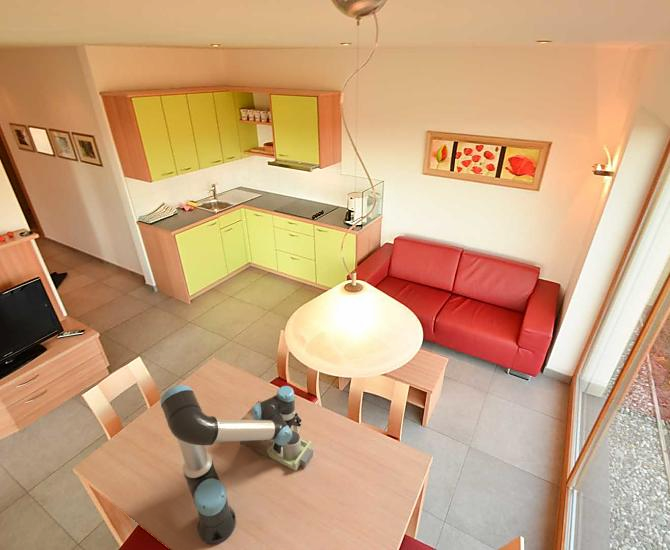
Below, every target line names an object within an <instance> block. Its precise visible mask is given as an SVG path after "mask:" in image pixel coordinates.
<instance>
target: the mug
mask: <svg viewBox="0 0 670 550" xmlns="http://www.w3.org/2000/svg"><path fill="white" fill-rule="evenodd" d="M291 432H292V438H291V439H290V441H289V442H288V443H287V444H285V445H282V447H283V449H284V456H285V457H286V458H287V459H289V460H295V459H297V458H298V456H299V455H300V454H301V439H302V438H301V435H300V432H299V433H298V432H296V431H293V430H291Z"/></svg>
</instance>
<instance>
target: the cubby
mask: <svg viewBox="0 0 670 550" xmlns="http://www.w3.org/2000/svg"><path fill="white" fill-rule="evenodd" d="M260 402H261V400H258V401H257V402H256V403H255V404H254V405H256V404H258V403H260ZM240 420H254V418H253V415H252V407H251V408H250V409H249V410H248V412H247V413H246V414H245V415H243V417H242V418H241V419H240ZM274 441H275V440H251V441H239V444H240V445H242V446H243V447H245V448H246V449H248V450H250V451H251V452H254V453H256V454H257V455H259V456H260V457H263V458H264V459H269V458H270V457H269V456H268V452H267V450H268V449H269V447H270V446H271V445H272V444H273V442H274Z"/></svg>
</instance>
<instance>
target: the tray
mask: <svg viewBox="0 0 670 550" xmlns="http://www.w3.org/2000/svg"><path fill="white" fill-rule="evenodd" d="M300 439H301V454H300V455H299V456H298V458H297V459H295V460H289V459H287V458H286V457H285V456H284V449H283V457H280V456H278V455H277V451H275V450H273V448H274V443H275V441H274V442H273V444H272V445H271V446H270V447H269V449H268V450H267V452H268V456H269V457H268V458H271V459H273V460H275V461H276V462H278V463H280V464H282V465H284V466H286V467H287V468H289V469H291V470H293V471H295V472H297V471H298V468H299V467H300V466H302V467H304V468H306V467H307V466H308V464H309V462H310V461H311V460H312V458H313V456H314V450H313V449H312V447H313V446H312V441H311V440H308V441H306V440H304V439H302V438H300ZM282 448H283V447H282Z"/></svg>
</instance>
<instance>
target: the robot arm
mask: <svg viewBox="0 0 670 550" xmlns="http://www.w3.org/2000/svg"><path fill="white" fill-rule="evenodd" d="M276 392H277V393H276V394H275V395H273V396H272V397H270V398H267V399H265V400H263V401H260V403H258V404H256V403H255V404H256V405H255V404H254V405H253V406H252V407H251V408H252V415H253V418H254V420H241V419H222V418H221V419H218V418H217V417H216V416H214V415H213V416H212V415H211V416H210V415H207V414H205V413H204V412H203V410H202V407H201V406H200V403H199V402H198V401H199V400H198V399H197V397H196V395H195V392H194V390H193V389H192V388H191V387H190V386H189V385H186V384H185V385H184V384H177V385H175V386H172V387H171V388H169V389H168V390H166V391H164V394H162V395H161V398H160V408H161V409H162V410H163V413H164V414H163V415H164V417H165V421H166V424H167V425H168V428H169V430H170V432H171V434H172V436H174V437H175V438H176V439H177V442H178V445H179V449H180V452H181V454H182V458H183V460H184V463H183V465H182V471H183V476H184V479H185V481H186V484H187V486H188V489H189V492H190V494H191V496H192V500H193V502H194V505H195V509H196V510H197V514H198V517H199V520H198V523H197V530H198V531H197V532H198V535H199V538H200V539H201V541H202V542H204V543H205V544H208V545H211V546H212V545H219V544H221V543H223V542H225V541H226V540H228V539H229V538H230V536H231V535H232V533H233V532H234V531H235V528H236V524H237V517H236V513H235V511H234V509H233V508H232V507H231V506H230V505H229V501H228V495H227V489H226V487H225V485H224V483H223V482H222V481H221V480H220V478H219V475H218V473H217V471H216V467H215V465H214V461H213V457H212V456H211V455H210V453H208V452H207V449H206V448H205V446H213V445H214V444H215V443H222V442H223V443H224V442H240V441H251V440H275V443H274V448H273V450H275V451H277V455H278V456H280V457H283V448H282V445H285V444H287V443H288V442H289V441H290V439H291V438H292V432H291V431H296V432H298V433H299V434H300V427H301V425H302V421H303V420H302V419H301V418H300V417H299V415H298V413H297V412H296V411H295V410H296V408H295V407H296V406H295V397H296V396H295V391H294V389H293V387H291V386H289V385H283V386H281V387H279V388H278V390H277V391H276ZM292 427H293V430H291V428H292Z"/></svg>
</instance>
